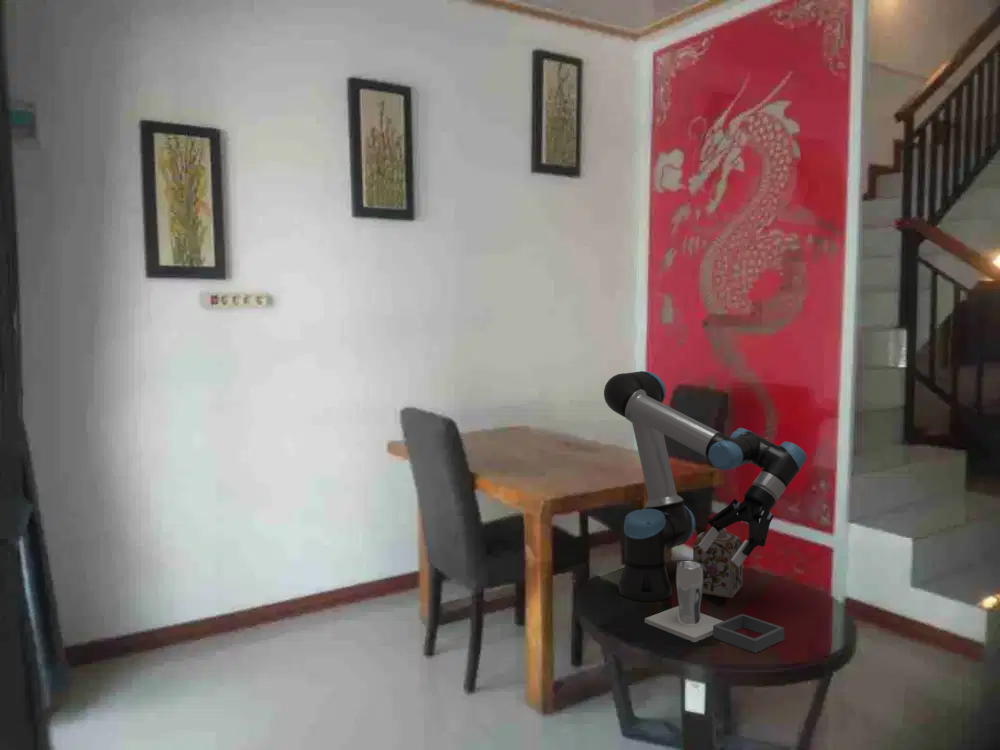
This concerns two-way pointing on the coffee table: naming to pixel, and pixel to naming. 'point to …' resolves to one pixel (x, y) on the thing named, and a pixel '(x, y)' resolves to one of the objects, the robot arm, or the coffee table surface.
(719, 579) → the decorative jar
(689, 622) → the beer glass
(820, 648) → the coffee table surface
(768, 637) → the holder
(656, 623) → the board
